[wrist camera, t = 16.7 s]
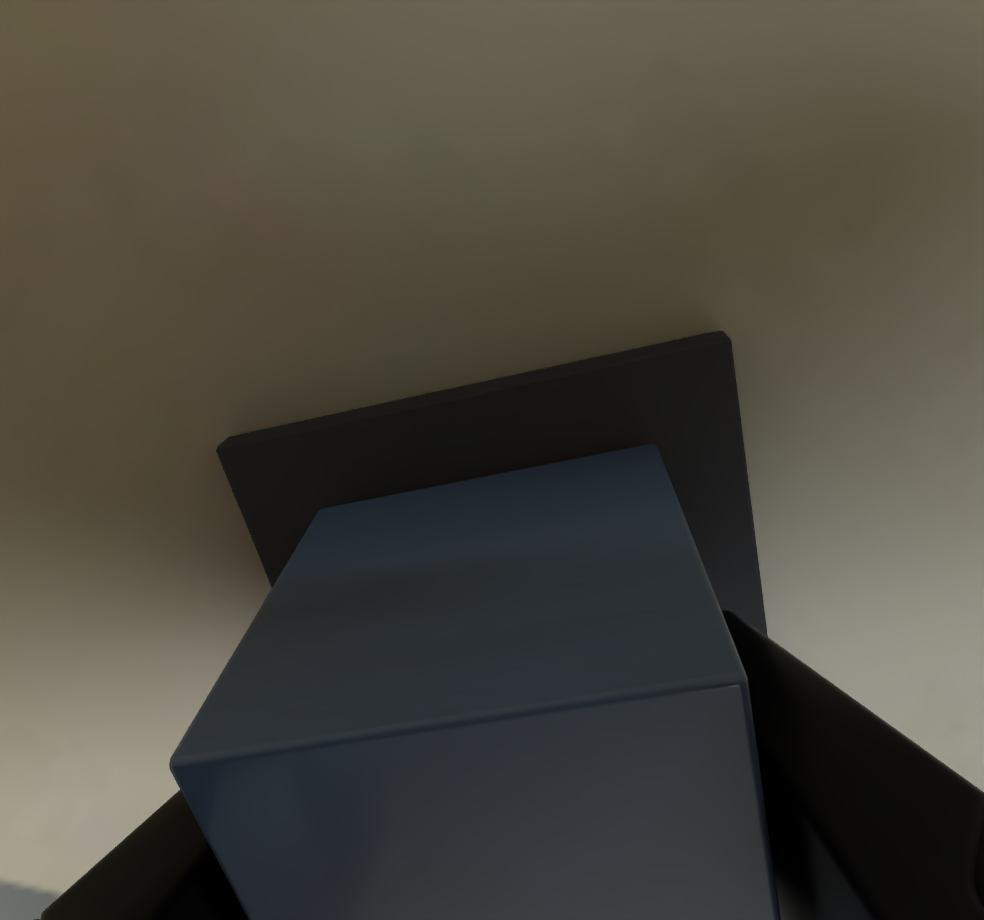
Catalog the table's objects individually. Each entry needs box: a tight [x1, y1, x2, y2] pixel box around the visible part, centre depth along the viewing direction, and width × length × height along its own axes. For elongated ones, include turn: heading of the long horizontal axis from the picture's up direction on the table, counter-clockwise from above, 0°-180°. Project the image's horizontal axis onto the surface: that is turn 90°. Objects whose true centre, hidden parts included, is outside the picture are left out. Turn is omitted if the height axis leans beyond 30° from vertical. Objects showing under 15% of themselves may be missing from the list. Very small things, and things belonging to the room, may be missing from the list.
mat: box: [216, 331, 768, 637], centre depth 10 cm, size 6×6×1 cm
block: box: [169, 444, 781, 920], centre depth 8 cm, size 4×4×4 cm
